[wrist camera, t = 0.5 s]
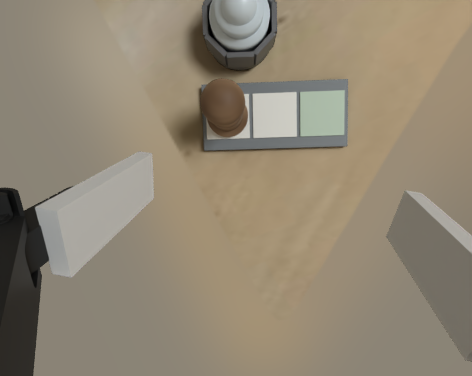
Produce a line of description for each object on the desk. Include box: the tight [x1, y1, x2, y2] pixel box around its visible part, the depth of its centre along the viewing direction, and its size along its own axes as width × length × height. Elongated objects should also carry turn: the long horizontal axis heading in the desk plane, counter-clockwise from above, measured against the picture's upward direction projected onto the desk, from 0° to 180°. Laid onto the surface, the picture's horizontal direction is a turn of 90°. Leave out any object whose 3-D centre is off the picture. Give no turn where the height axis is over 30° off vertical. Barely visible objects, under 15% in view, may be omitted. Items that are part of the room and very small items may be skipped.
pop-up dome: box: [209, 0, 270, 52], centre depth 30 cm, size 7×7×6 cm
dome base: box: [202, 0, 277, 70], centre depth 34 cm, size 9×9×4 cm
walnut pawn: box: [200, 78, 248, 137], centre depth 31 cm, size 6×6×11 cm
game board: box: [202, 79, 348, 151], centre depth 36 cm, size 9×20×1 cm, turn 92°
